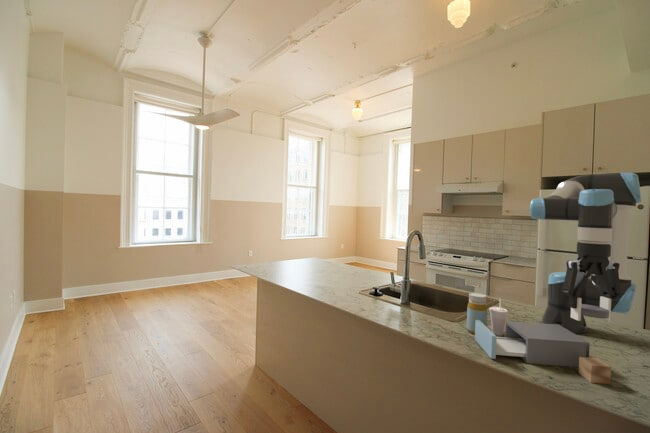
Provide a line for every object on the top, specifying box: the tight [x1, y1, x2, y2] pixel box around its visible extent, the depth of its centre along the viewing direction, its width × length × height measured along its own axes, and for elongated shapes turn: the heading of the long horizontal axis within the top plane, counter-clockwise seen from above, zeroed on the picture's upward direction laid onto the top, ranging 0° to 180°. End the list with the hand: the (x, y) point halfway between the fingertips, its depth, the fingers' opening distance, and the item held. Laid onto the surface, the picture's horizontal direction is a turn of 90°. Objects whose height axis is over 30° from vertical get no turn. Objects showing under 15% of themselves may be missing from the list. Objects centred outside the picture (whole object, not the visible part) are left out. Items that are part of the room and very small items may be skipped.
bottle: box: [466, 292, 488, 335], centre depth 121 cm, size 7×7×15 cm
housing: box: [504, 320, 591, 368], centre depth 103 cm, size 18×15×8 cm
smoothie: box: [489, 298, 509, 336], centre depth 120 cm, size 6×6×14 cm
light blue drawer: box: [474, 320, 526, 360], centre depth 105 cm, size 18×14×7 cm
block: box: [577, 357, 612, 385], centre depth 89 cm, size 5×5×5 cm
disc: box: [581, 304, 609, 319], centre depth 89 cm, size 8×8×2 cm
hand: (590, 319), depth 90 cm, fingers closed on disc, 8 cm apart
